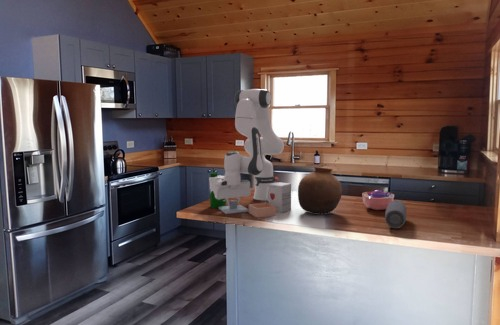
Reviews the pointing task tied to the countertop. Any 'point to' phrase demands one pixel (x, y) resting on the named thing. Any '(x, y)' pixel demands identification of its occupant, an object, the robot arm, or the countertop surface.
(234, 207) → the lid
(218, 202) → the milk carton
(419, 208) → the countertop surface
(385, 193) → the cell model
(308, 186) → the pottery
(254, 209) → the dish
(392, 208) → the bluetooth speaker
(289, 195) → the supplement box
